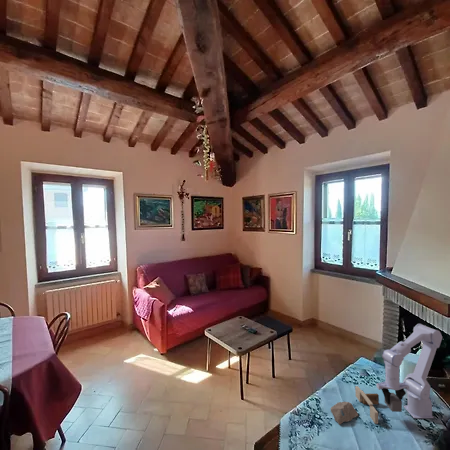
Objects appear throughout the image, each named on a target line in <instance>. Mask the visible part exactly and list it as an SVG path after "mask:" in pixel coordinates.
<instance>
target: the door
mask: <svg viewBox="0 0 450 450" xmlns="http://www.w3.org/2000/svg"><path fill="white" fill-rule="evenodd" d="M365 394H366V396H367V397H368V398H369V400H370V401H371V402H372V403H373V405H379V404H380V403H379V402H380V401H379V400H380V398H379V397H380V395H379V394H378V393H365ZM361 403H362V404H363V405H369V404H368V403H367V401H366V400H365V399H364V397H363V396H362V402H361Z"/></svg>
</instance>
